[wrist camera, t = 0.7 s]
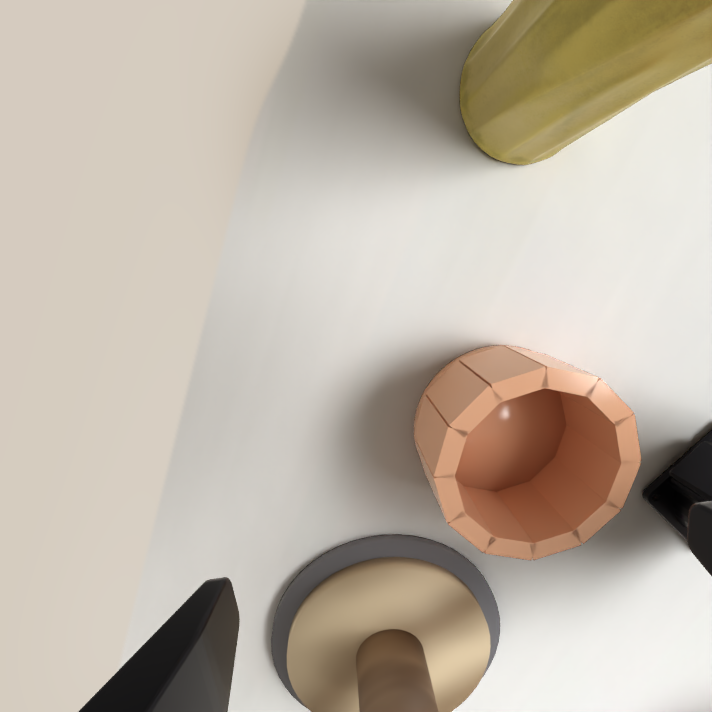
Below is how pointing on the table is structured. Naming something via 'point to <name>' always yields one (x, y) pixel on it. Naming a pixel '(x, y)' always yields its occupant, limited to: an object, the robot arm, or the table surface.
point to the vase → (574, 68)
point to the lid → (388, 640)
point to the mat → (373, 550)
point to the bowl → (525, 450)
